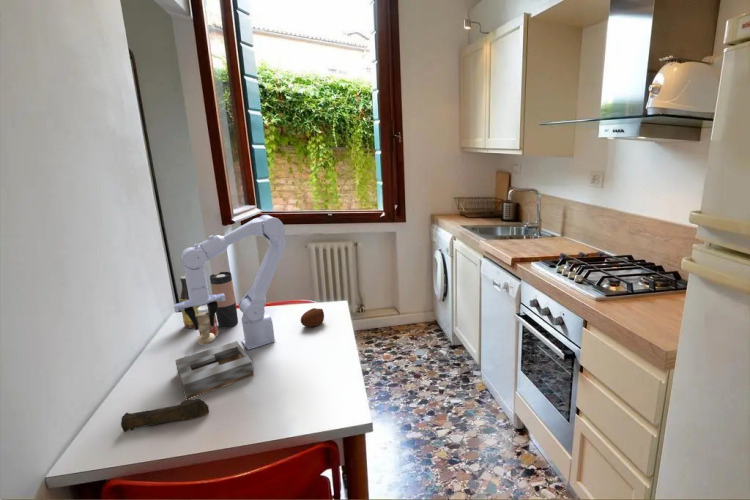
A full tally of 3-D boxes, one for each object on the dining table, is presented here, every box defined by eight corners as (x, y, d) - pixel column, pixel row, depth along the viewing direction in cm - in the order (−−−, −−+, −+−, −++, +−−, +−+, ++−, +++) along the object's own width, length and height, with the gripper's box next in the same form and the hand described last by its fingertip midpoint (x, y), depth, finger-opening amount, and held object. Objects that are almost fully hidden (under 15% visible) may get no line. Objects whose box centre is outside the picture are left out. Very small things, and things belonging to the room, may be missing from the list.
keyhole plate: (238, 353, 123) (236, 340, 122) (253, 375, 110) (251, 361, 109) (177, 373, 114) (175, 359, 112) (186, 399, 101) (183, 384, 100)
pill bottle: (220, 336, 136) (215, 308, 133) (202, 341, 133) (196, 312, 130) (216, 330, 141) (212, 302, 138) (199, 335, 138) (193, 307, 135)
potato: (328, 325, 140) (327, 309, 138) (304, 332, 136) (302, 315, 134) (321, 319, 146) (320, 303, 144) (298, 325, 142) (296, 309, 140)
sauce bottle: (180, 328, 144) (171, 279, 139) (192, 321, 150) (183, 273, 145) (195, 329, 143) (186, 279, 138) (206, 322, 149) (197, 274, 144)
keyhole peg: (213, 335, 125) (209, 310, 122) (216, 341, 120) (212, 315, 118) (196, 340, 122) (192, 314, 120) (199, 346, 118) (195, 319, 116)
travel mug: (234, 328, 142) (226, 277, 137) (214, 329, 142) (205, 278, 137) (241, 319, 149) (234, 271, 144) (222, 320, 150) (214, 272, 145)
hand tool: (121, 435, 89) (117, 418, 88) (128, 424, 93) (124, 407, 92) (206, 421, 92) (203, 405, 91) (210, 411, 96) (207, 395, 95)
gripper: (219, 278, 124) (225, 316, 127) (169, 288, 116) (177, 328, 119) (224, 283, 118) (230, 323, 121) (172, 294, 110) (180, 337, 114)
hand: (204, 326), depth 120 cm, fingers closed on keyhole peg, 4 cm apart
